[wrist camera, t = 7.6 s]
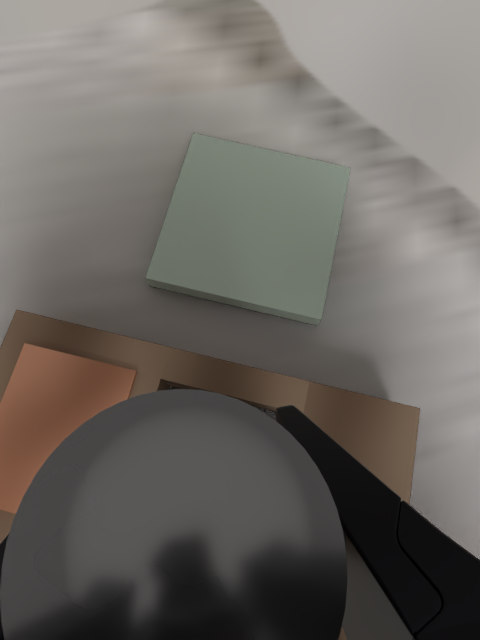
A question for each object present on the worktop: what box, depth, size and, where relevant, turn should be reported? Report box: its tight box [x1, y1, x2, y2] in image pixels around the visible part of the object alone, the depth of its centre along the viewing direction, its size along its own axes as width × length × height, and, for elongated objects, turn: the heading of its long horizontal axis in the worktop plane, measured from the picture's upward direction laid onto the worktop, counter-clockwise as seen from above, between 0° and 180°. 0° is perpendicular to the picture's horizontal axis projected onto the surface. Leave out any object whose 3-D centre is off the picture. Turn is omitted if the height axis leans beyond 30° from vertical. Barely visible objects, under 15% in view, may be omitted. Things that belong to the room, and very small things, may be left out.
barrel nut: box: [0, 389, 348, 640], centre depth 9 cm, size 4×4×10 cm
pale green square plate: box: [145, 133, 351, 326], centre depth 19 cm, size 8×8×1 cm
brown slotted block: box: [0, 310, 420, 640], centre depth 15 cm, size 16×8×3 cm, turn 76°
